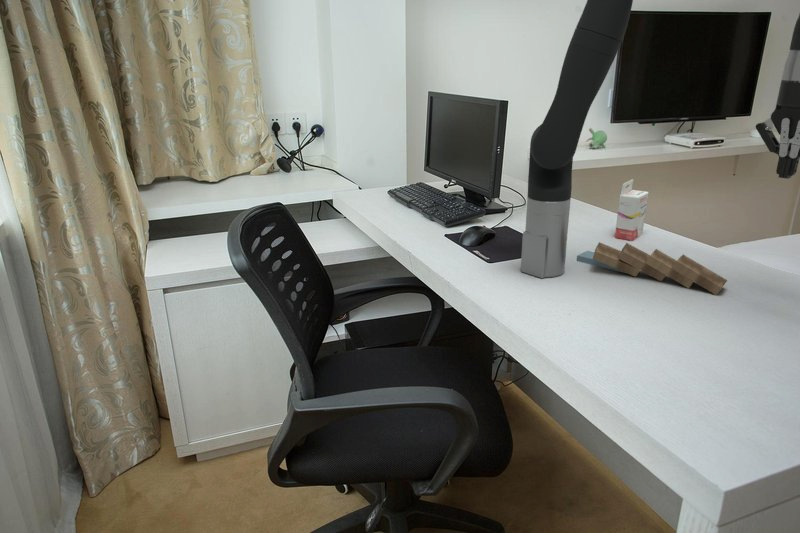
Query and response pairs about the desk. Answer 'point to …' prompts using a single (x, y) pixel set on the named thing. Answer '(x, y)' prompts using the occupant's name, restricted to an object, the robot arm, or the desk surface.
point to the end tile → (588, 258)
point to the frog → (597, 139)
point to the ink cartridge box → (631, 212)
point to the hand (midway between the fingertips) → (785, 177)
